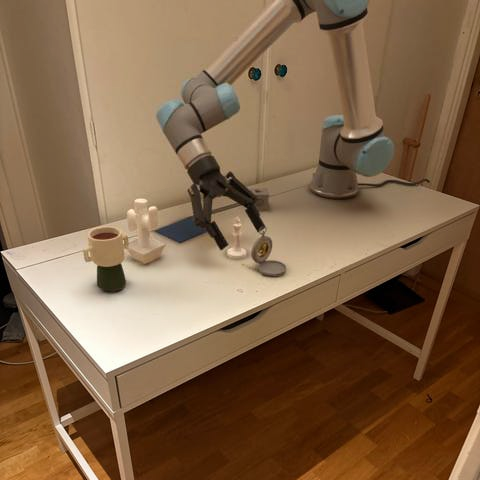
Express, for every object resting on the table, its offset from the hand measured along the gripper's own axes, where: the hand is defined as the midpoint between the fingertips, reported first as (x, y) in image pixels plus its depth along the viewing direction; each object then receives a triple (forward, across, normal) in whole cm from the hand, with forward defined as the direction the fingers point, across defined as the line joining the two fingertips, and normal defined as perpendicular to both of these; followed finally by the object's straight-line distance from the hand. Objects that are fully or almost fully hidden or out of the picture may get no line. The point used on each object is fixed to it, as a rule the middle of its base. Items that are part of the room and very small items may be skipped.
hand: (244, 238), depth 124 cm
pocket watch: (+10, 0, +2) cm, 10 cm away
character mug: (-5, +31, -12) cm, 34 cm away
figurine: (-8, +17, -15) cm, 25 cm away
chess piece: (+2, 0, -5) cm, 6 cm away
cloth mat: (-12, 0, -19) cm, 22 cm away
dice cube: (-9, -26, -16) cm, 32 cm away
